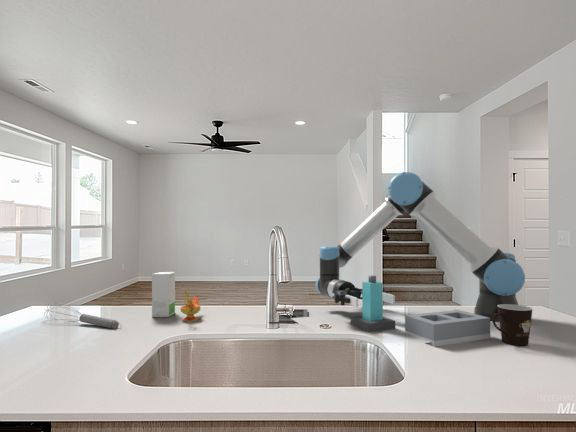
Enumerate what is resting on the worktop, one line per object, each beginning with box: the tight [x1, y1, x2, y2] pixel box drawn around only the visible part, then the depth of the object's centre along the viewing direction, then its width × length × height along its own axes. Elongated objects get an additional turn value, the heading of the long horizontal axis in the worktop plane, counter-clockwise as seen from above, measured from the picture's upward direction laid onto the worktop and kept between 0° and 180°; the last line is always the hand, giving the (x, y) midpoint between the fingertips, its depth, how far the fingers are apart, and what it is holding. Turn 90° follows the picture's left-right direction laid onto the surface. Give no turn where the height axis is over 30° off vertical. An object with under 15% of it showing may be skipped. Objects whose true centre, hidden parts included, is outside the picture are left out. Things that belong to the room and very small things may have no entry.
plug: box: [361, 274, 384, 322], centre depth 124 cm, size 4×4×16 cm
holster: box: [350, 314, 396, 333], centre depth 124 cm, size 10×10×4 cm
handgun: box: [279, 308, 309, 324], centre depth 142 cm, size 13×2×18 cm
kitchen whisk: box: [43, 302, 123, 329], centre depth 131 cm, size 6×34×6 cm, turn 68°
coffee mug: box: [491, 304, 533, 347], centre depth 111 cm, size 12×9×10 cm
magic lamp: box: [180, 290, 201, 322], centre depth 140 cm, size 7×18×11 cm, turn 179°
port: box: [404, 309, 491, 348], centre depth 116 cm, size 21×12×6 cm, turn 112°
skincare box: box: [151, 271, 176, 318], centre depth 145 cm, size 8×7×16 cm
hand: (375, 301), depth 122 cm, fingers open, 13 cm apart
